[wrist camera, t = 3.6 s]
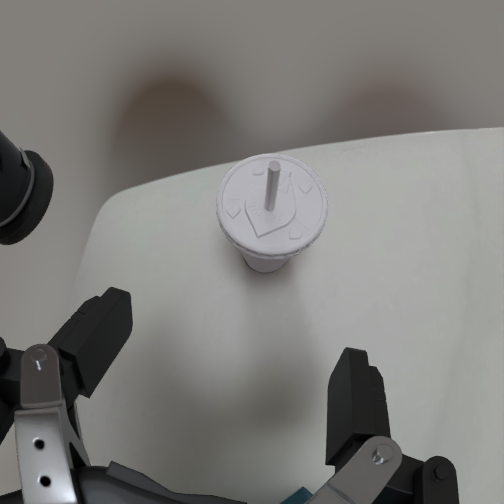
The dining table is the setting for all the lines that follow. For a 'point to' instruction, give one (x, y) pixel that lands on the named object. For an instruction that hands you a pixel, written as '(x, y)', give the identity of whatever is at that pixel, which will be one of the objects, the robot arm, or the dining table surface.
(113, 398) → the dining table surface
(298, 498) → the open storage box
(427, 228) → the dining table surface
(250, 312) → the dining table surface
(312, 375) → the dining table surface
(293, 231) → the smoothie
